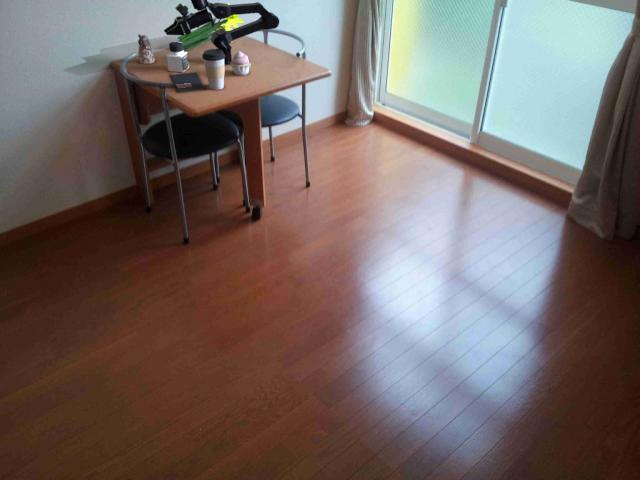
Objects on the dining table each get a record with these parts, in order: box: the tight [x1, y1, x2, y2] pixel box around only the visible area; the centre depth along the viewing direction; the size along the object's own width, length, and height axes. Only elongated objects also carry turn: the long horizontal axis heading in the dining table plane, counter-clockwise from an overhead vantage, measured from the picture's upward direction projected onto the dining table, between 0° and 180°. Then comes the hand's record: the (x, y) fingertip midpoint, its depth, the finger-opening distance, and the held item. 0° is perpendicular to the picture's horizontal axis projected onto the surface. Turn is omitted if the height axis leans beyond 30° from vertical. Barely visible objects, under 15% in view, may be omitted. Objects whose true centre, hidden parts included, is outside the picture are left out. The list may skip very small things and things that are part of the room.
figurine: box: [137, 33, 156, 65], centre depth 262 cm, size 7×7×12 cm
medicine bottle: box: [166, 40, 190, 74], centre depth 255 cm, size 7×7×12 cm
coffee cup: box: [201, 48, 226, 91], centre depth 238 cm, size 9×9×15 cm
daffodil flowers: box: [176, 2, 247, 52], centre depth 283 cm, size 17×15×35 cm
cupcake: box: [229, 50, 252, 77], centre depth 253 cm, size 9×9×10 cm
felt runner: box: [170, 71, 206, 93], centre depth 246 cm, size 11×20×1 cm, turn 20°
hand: (165, 32), depth 250 cm, fingers open, 9 cm apart
